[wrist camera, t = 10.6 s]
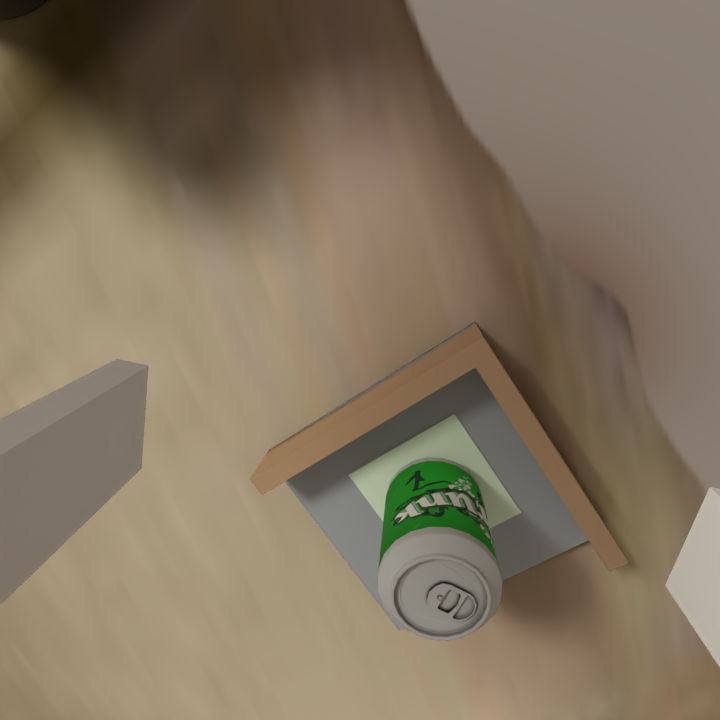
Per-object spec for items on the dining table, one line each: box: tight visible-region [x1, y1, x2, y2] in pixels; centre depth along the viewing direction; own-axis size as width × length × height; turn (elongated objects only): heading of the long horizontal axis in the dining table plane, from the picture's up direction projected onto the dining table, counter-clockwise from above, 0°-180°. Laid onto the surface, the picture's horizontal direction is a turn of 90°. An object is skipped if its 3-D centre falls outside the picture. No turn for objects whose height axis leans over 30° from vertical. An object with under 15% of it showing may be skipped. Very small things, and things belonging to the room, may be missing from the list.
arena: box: [250, 322, 629, 630], centre depth 40 cm, size 20×20×5 cm
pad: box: [349, 413, 521, 528], centre depth 42 cm, size 10×10×1 cm
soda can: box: [378, 457, 503, 641], centre depth 36 cm, size 8×8×12 cm
